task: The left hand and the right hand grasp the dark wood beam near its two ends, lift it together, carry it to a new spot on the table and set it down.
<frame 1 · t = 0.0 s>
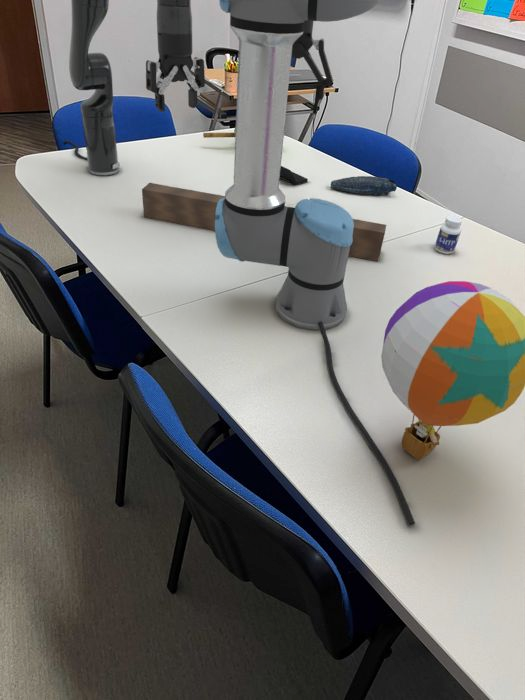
left hand: (176, 109, 123), 29 cm above the table, tool pointing down, fingers open, 8 cm apart
right hand: (288, 109, 135), 28 cm above the table, tool pointing down, fingers open, 13 cm apart
fish model: (361, 191, 169), on the table
toy: (415, 451, 84), on the table
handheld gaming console: (286, 179, 172), on the table
decorative tree: (243, 149, 193), on the table
pill bottle: (443, 250, 140), on the table
beam: (259, 234, 139), on the table
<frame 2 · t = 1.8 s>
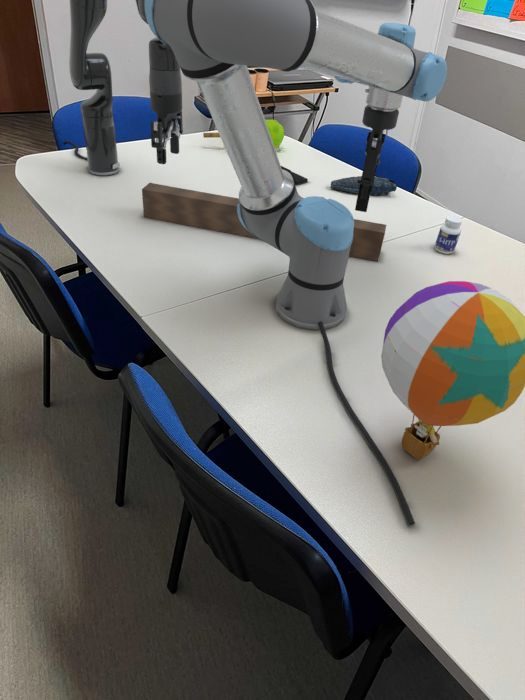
left hand: (168, 158, 133), 16 cm above the table, tool pointing down, fingers open, 8 cm apart
right hand: (363, 200, 127), 14 cm above the table, tool pointing down, fingers open, 13 cm apart
nothing on the table moved.
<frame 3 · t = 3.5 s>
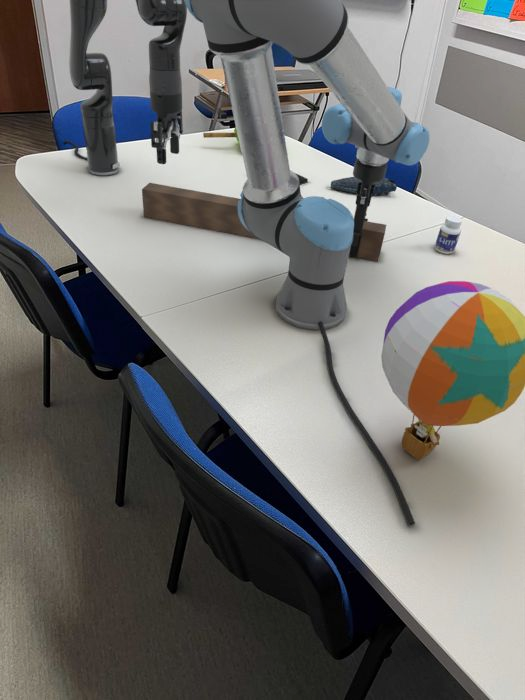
left hand: (168, 158, 133), 16 cm above the table, tool pointing down, fingers open, 8 cm apart
right hand: (353, 250, 135), 1 cm above the table, tool pointing down, fingers closed on beam, 5 cm apart
beam: (259, 234, 139), on the table, touching right hand
everything else where it was.
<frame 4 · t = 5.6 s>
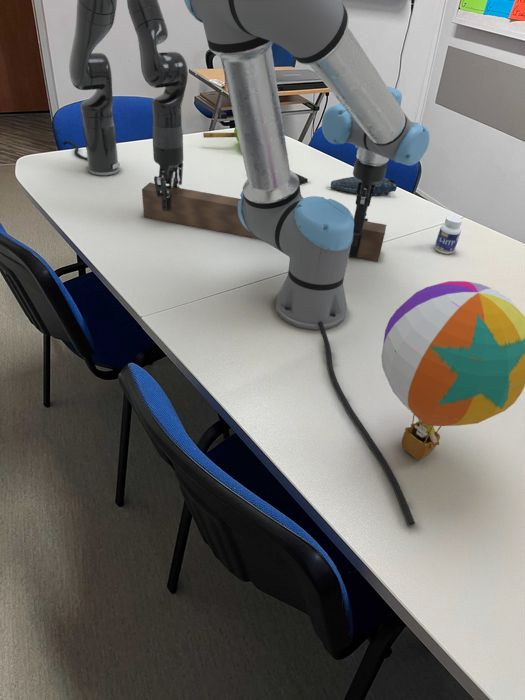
left hand: (170, 206, 141), 3 cm above the table, tool pointing down, fingers closed on beam, 5 cm apart
right hand: (353, 250, 135), 1 cm above the table, tool pointing down, fingers closed on beam, 5 cm apart
beam: (259, 234, 139), on the table, touching right hand, left hand
everything else where it was.
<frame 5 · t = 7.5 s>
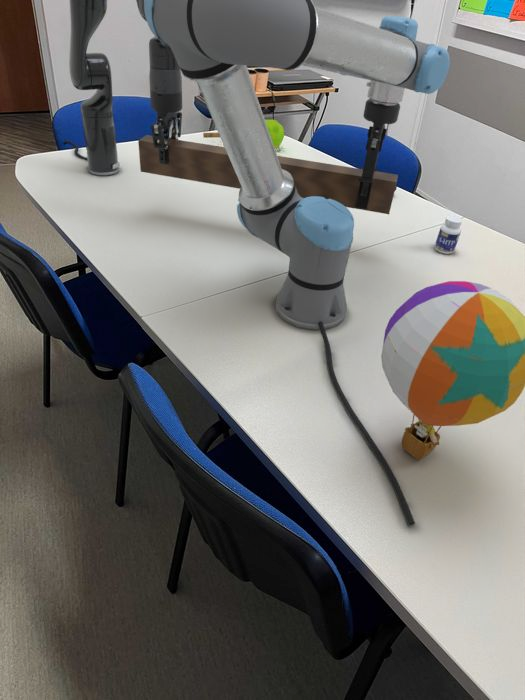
left hand: (168, 159, 134), 16 cm above the table, tool pointing down, fingers closed on beam, 5 cm apart
right hand: (362, 203, 127), 13 cm above the table, tool pointing down, fingers closed on beam, 5 cm apart
beam: (262, 188, 132), point 13 cm above the table, touching right hand, left hand
everything else where it was.
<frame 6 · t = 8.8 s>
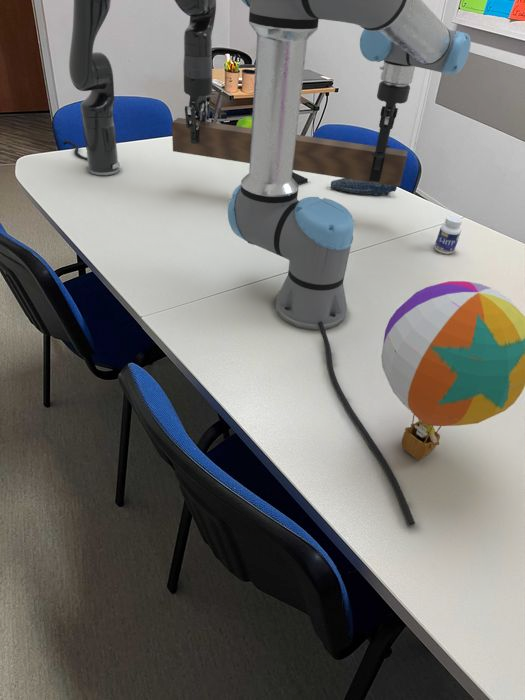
left hand: (198, 140, 147), 16 cm above the table, tool pointing down, fingers closed on beam, 5 cm apart
right hand: (375, 176, 140), 14 cm above the table, tool pointing down, fingers closed on beam, 5 cm apart
beam: (284, 165, 145), point 13 cm above the table, touching right hand, left hand
everything else where it was.
when the right hand's fingers open (2 cm above the table, at t = 11.6 s): beam drops 1 cm, on the table.
when the left hand's fingers open (5 cm above the table, at t = 11.8 s): beam stays where it is, on the table.
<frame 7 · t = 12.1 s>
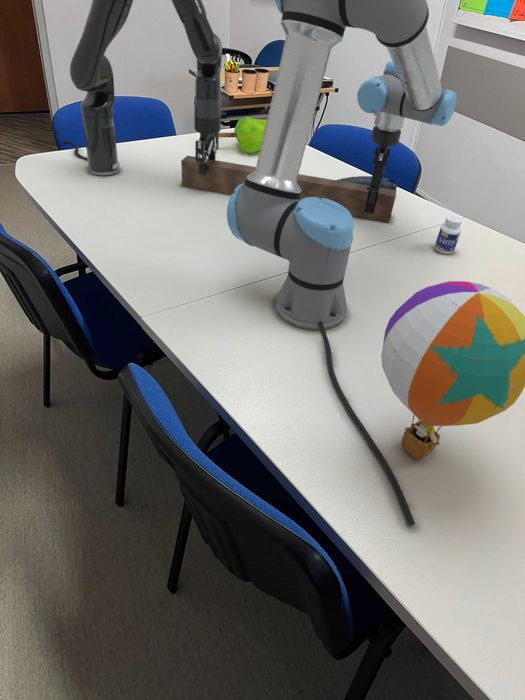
left hand: (207, 170, 159), 5 cm above the table, tool pointing down, fingers open, 8 cm apart
right hand: (371, 203, 152), 4 cm above the table, tool pointing down, fingers open, 12 cm apart
beam: (284, 200, 158), on the table
everything else where it was.
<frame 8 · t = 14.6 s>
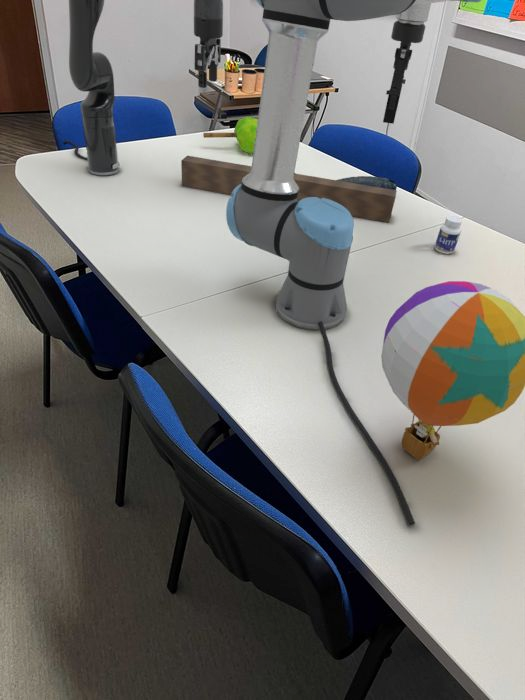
left hand: (207, 84, 144), 29 cm above the table, tool pointing down, fingers open, 8 cm apart
right hand: (390, 116, 137), 28 cm above the table, tool pointing down, fingers open, 13 cm apart
nothing on the table moved.
at the end: beam inside the target area (0.5 cm from its centre), on the table; beam tilted 0°; beam never tilted more than 2° during the clip; both hands held the beam at the same time; the left hand is holding nothing; the right hand is holding nothing; beam at rest at the end (0.0 cm/s) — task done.
